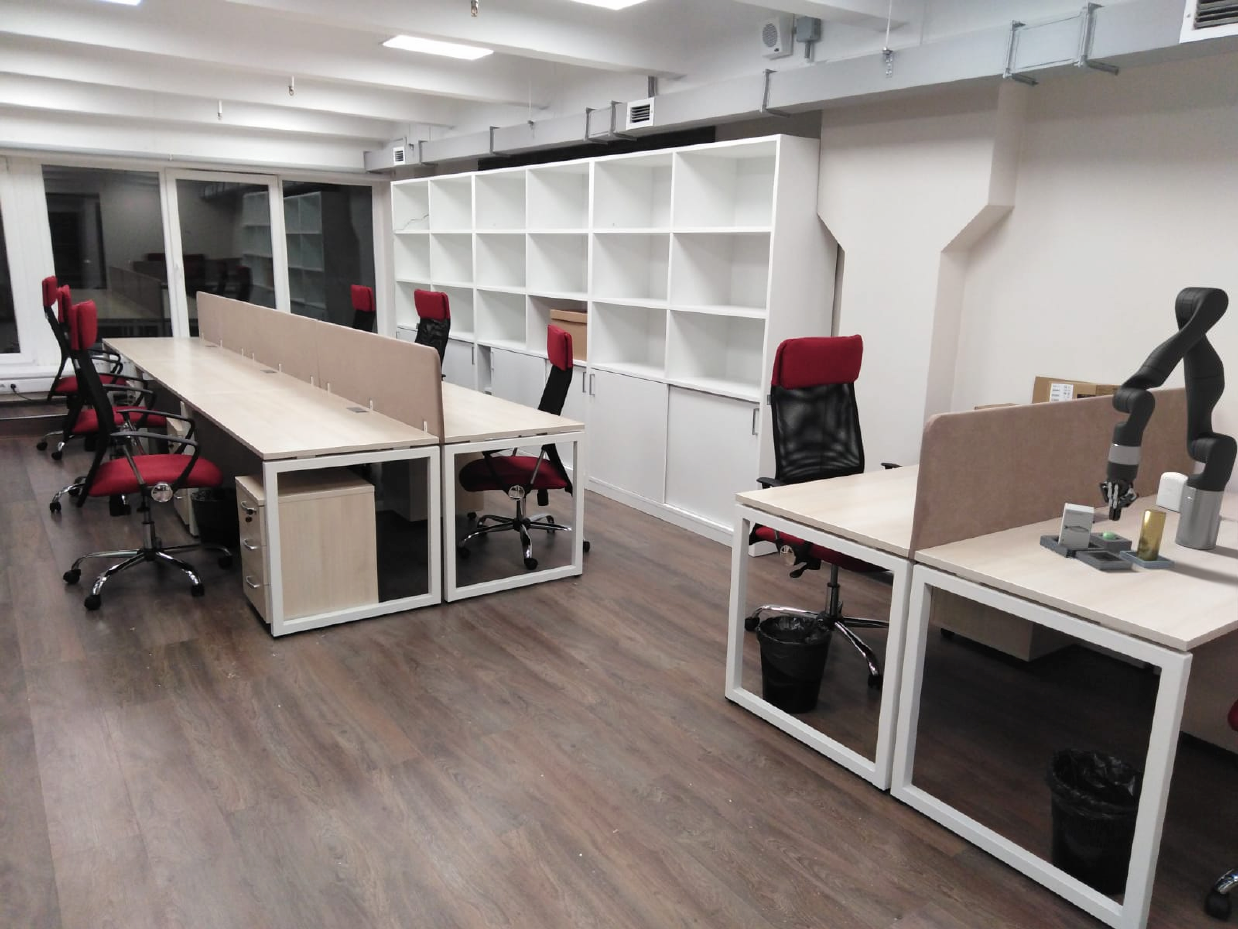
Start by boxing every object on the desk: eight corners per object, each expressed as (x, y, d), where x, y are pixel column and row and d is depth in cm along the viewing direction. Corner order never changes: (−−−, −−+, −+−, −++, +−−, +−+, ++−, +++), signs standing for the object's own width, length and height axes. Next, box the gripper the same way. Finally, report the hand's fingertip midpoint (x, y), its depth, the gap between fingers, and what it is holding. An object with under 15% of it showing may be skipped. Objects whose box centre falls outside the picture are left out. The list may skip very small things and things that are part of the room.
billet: (1146, 558, 237) (1156, 509, 233) (1161, 564, 232) (1171, 514, 229) (1130, 558, 236) (1140, 509, 233) (1144, 564, 231) (1154, 514, 228)
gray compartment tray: (1076, 543, 249) (1078, 534, 248) (1135, 571, 227) (1137, 562, 227) (1038, 543, 247) (1039, 535, 246) (1094, 572, 225) (1095, 563, 224)
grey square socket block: (1109, 543, 250) (1111, 532, 249) (1130, 553, 242) (1132, 541, 241) (1085, 544, 248) (1087, 532, 247) (1104, 553, 241) (1107, 541, 240)
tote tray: (1147, 557, 239) (1148, 550, 239) (1173, 568, 230) (1174, 561, 230) (1118, 557, 237) (1120, 551, 237) (1143, 569, 229) (1144, 562, 228)
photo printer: (1153, 504, 296) (1160, 469, 293) (1163, 504, 297) (1170, 469, 294) (1178, 513, 286) (1185, 477, 283) (1189, 513, 287) (1196, 477, 284)
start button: (1109, 541, 247) (1111, 531, 246) (1117, 545, 243) (1119, 535, 243) (1098, 542, 246) (1100, 532, 245) (1107, 546, 243) (1109, 535, 242)
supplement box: (1057, 551, 240) (1064, 508, 237) (1057, 544, 247) (1064, 502, 244) (1086, 557, 237) (1094, 512, 234) (1086, 549, 244) (1094, 506, 241)
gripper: (1153, 465, 233) (1143, 527, 237) (1118, 454, 246) (1108, 513, 250) (1129, 466, 232) (1119, 527, 236) (1094, 455, 245) (1085, 513, 249)
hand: (1113, 520), depth 243 cm, fingers closed
